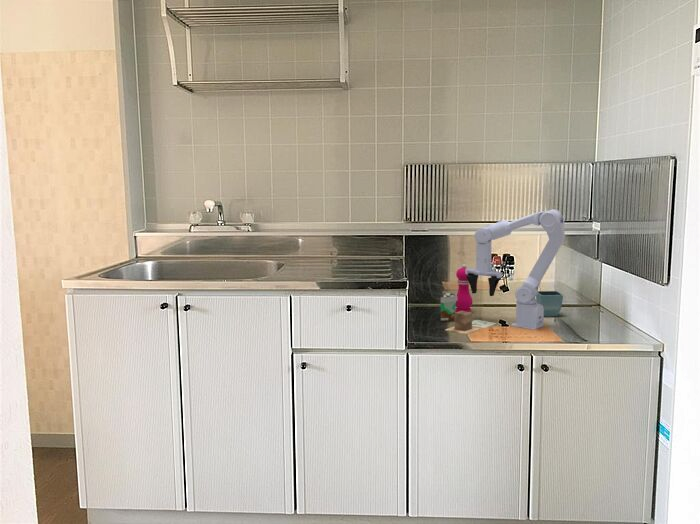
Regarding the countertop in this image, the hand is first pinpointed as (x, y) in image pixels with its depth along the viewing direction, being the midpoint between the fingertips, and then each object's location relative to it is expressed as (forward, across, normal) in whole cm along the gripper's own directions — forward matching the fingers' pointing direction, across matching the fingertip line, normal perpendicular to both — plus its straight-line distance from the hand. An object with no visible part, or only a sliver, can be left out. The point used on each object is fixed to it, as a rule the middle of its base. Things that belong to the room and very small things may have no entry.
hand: (482, 294), depth 242 cm
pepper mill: (+11, -13, +7) cm, 18 cm away
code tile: (+10, +2, -5) cm, 12 cm away
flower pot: (+11, +15, +25) cm, 31 cm away
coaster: (+10, +2, -17) cm, 20 cm away
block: (+10, +2, -17) cm, 19 cm away
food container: (+11, -11, -6) cm, 16 cm away
